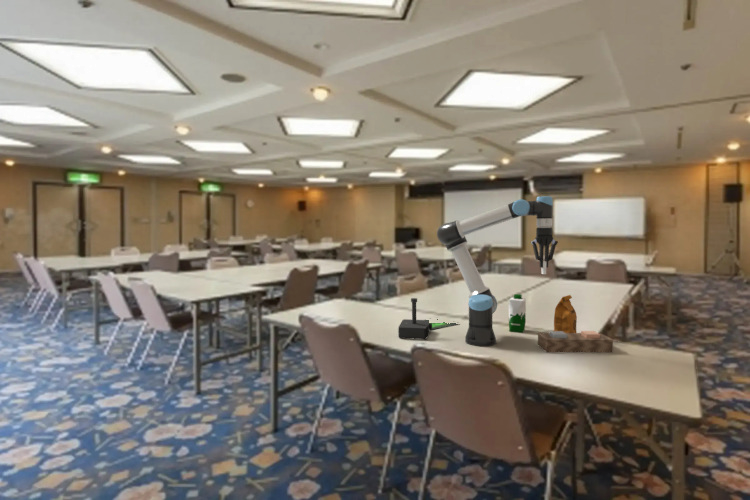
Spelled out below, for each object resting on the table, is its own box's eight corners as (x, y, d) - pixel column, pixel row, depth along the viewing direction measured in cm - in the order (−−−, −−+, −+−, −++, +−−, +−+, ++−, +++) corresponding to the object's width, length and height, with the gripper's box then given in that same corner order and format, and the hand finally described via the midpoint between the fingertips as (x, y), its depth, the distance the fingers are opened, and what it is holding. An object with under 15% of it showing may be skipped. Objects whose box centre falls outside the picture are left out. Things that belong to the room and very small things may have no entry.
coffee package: (579, 336, 221) (580, 295, 219) (570, 341, 212) (570, 298, 211) (560, 333, 228) (561, 293, 227) (550, 337, 219) (551, 296, 218)
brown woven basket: (546, 352, 195) (546, 339, 195) (537, 344, 207) (537, 333, 206) (612, 352, 194) (612, 339, 193) (599, 345, 206) (600, 332, 205)
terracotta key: (586, 344, 197) (586, 334, 197) (580, 341, 203) (581, 331, 203) (599, 344, 197) (599, 334, 196) (593, 341, 203) (593, 331, 202)
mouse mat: (437, 318, 271) (437, 316, 271) (462, 324, 253) (462, 322, 253) (404, 324, 255) (404, 322, 255) (429, 331, 237) (429, 329, 237)
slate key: (554, 344, 198) (554, 334, 197) (549, 341, 204) (549, 331, 203) (567, 344, 197) (567, 334, 197) (561, 341, 203) (562, 331, 203)
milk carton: (526, 329, 237) (526, 294, 236) (523, 333, 229) (524, 297, 228) (510, 328, 241) (510, 293, 240) (507, 331, 233) (507, 296, 232)
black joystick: (429, 340, 218) (429, 302, 217) (398, 338, 222) (397, 301, 221) (432, 331, 237) (432, 296, 236) (403, 330, 240) (402, 295, 239)
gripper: (533, 227, 207) (533, 275, 208) (560, 227, 206) (559, 274, 208) (528, 227, 214) (528, 273, 216) (554, 227, 214) (554, 273, 215)
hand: (543, 273), depth 212 cm, fingers closed
